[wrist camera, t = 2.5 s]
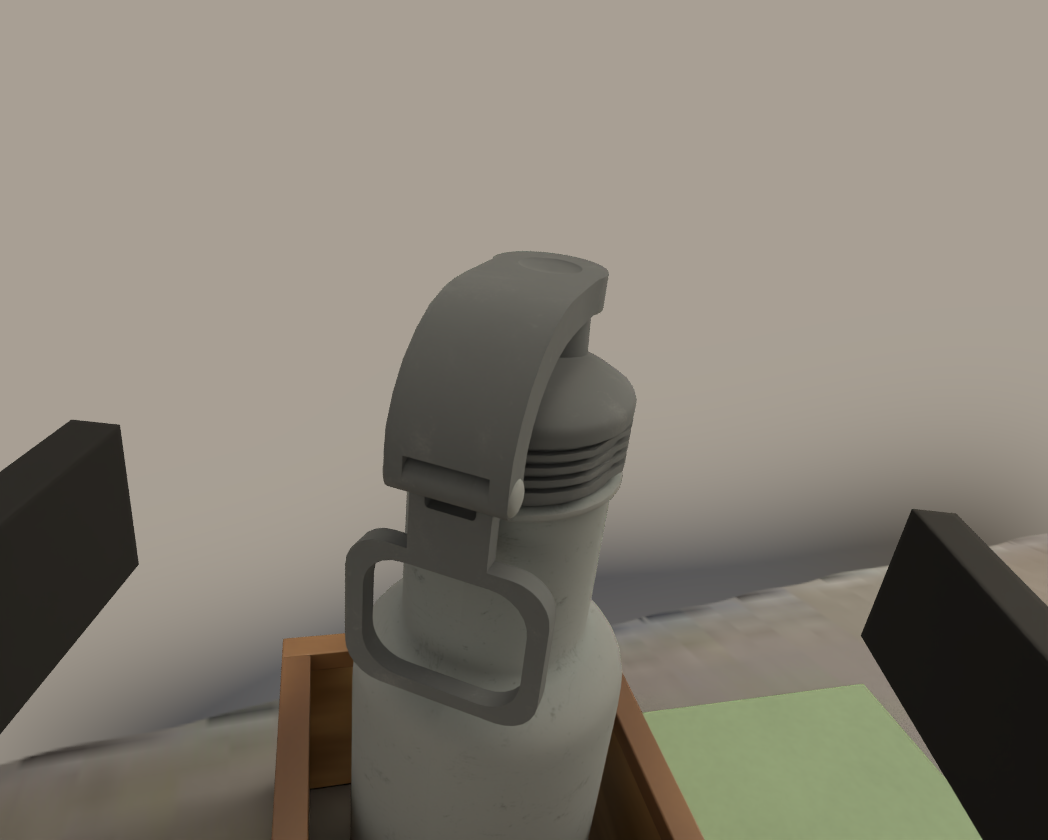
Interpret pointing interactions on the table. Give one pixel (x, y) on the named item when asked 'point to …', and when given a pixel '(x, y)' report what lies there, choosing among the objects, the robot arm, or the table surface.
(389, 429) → the water bottle
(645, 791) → the wooden box
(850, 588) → the table surface
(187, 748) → the table surface
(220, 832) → the table surface
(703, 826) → the desk mat
